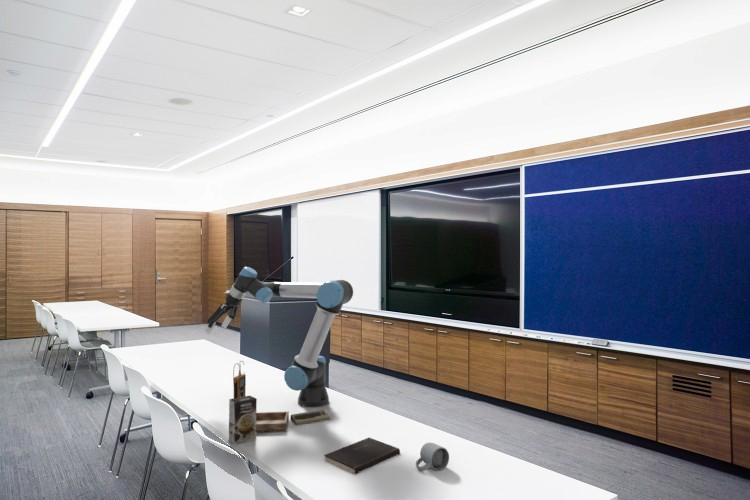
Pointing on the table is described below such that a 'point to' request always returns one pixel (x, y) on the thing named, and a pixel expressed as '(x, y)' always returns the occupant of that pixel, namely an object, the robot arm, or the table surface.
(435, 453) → the ceramic mug
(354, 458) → the hardcover book
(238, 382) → the multimeter
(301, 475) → the table surface
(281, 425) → the tray
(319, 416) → the computer
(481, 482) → the table surface
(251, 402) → the coffee box
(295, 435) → the table surface
